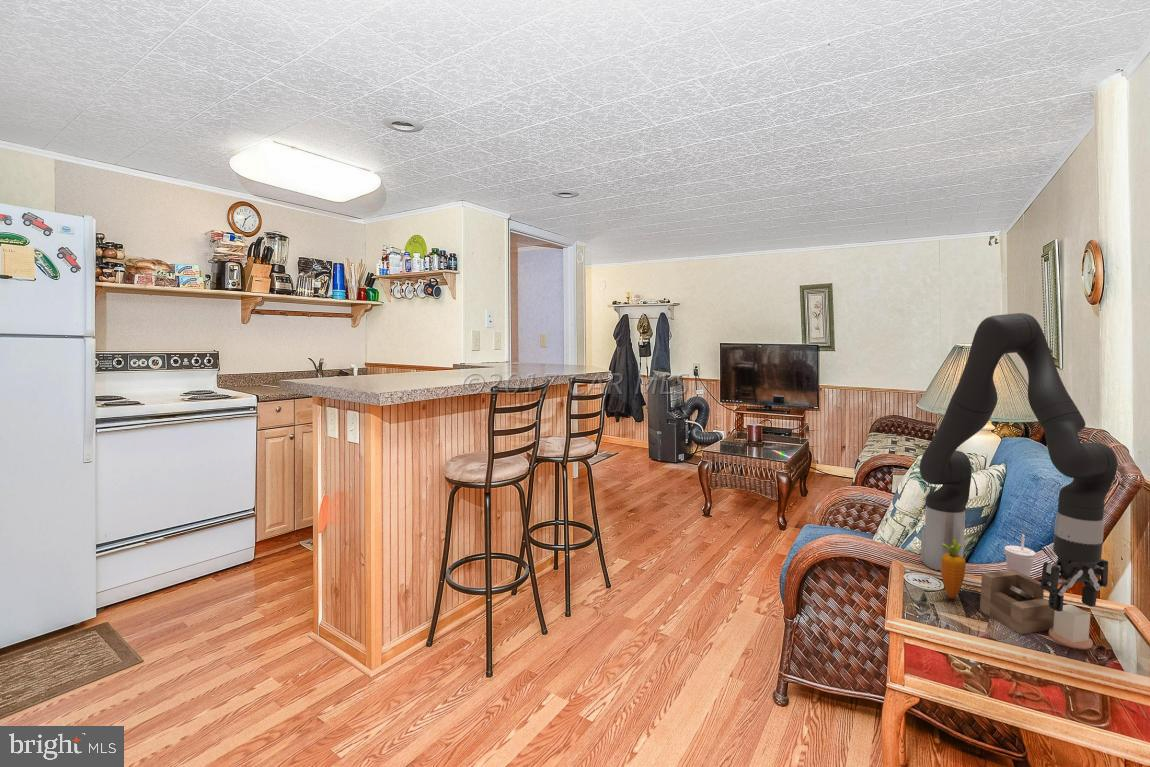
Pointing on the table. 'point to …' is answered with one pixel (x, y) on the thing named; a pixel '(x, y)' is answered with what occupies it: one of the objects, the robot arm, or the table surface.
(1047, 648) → the table surface
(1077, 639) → the cream block
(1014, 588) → the dark grey long block
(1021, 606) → the box
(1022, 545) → the smoothie
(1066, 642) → the terracotta dish
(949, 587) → the carrot
